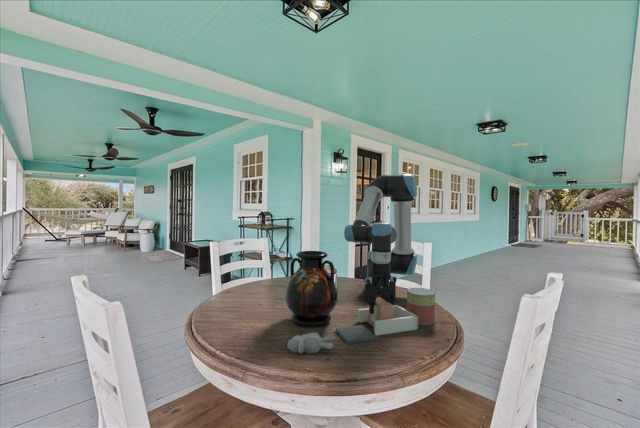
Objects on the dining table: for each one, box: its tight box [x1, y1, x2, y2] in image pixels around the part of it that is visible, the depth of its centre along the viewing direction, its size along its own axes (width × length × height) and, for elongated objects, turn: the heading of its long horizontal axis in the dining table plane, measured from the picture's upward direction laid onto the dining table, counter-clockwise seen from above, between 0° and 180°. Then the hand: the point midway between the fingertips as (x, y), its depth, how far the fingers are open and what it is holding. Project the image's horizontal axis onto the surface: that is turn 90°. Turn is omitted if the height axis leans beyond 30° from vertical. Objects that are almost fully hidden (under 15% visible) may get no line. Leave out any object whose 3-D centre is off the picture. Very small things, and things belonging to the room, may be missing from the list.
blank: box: [368, 296, 393, 327], centre depth 120 cm, size 5×9×10 cm, turn 19°
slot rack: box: [357, 304, 419, 337], centre depth 121 cm, size 19×14×5 cm
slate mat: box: [335, 324, 377, 344], centre depth 111 cm, size 11×11×1 cm
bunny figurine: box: [286, 332, 335, 354], centre depth 99 cm, size 10×5×15 cm
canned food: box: [406, 287, 436, 326], centre depth 127 cm, size 11×11×12 cm
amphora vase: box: [284, 250, 339, 328], centre depth 125 cm, size 22×22×28 cm
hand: (379, 320), depth 120 cm, fingers closed on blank, 5 cm apart
